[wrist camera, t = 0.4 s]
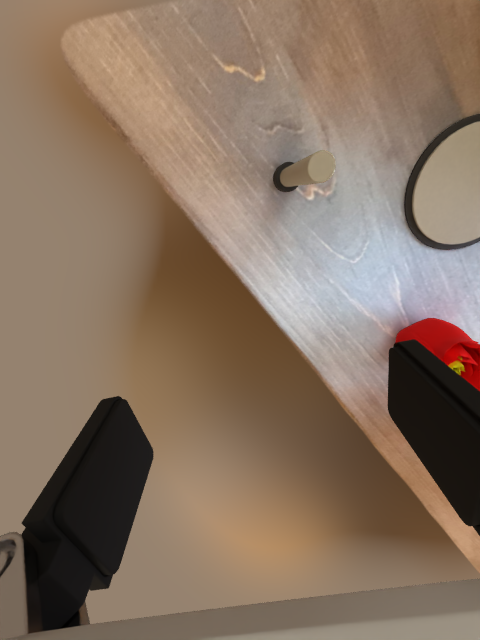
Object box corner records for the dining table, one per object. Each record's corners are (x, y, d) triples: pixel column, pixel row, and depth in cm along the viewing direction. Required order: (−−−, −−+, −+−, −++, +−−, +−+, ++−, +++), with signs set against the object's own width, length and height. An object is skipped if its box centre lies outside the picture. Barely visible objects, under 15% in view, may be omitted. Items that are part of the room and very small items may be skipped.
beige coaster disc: (462, 86, 23) (466, 84, 22) (562, 148, 25) (568, 147, 25) (380, 223, 28) (382, 223, 27) (470, 265, 30) (473, 266, 29)
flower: (459, 325, 33) (522, 363, 26) (416, 372, 36) (461, 417, 29) (410, 300, 31) (463, 332, 24) (369, 350, 34) (405, 392, 27)
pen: (279, 159, 25) (313, 133, 14) (302, 170, 25) (351, 153, 15) (269, 185, 26) (292, 180, 15) (291, 195, 26) (329, 197, 16)
